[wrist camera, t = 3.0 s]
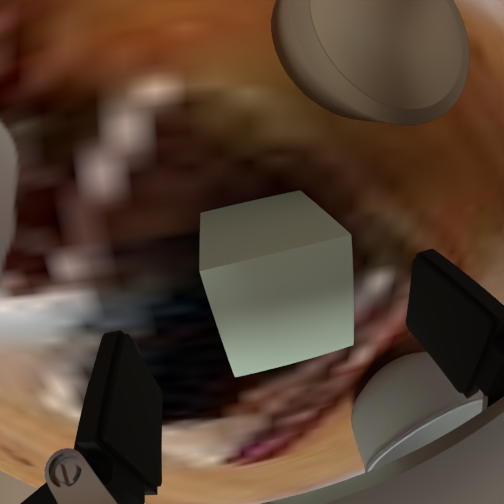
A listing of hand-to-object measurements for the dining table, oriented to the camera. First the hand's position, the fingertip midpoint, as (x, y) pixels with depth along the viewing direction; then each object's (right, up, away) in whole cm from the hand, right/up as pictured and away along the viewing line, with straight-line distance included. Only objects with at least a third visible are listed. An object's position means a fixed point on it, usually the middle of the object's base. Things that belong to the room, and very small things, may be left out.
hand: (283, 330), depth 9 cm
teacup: (+12, -7, +14) cm, 19 cm away
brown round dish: (+4, +13, +3) cm, 14 cm away
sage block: (-1, +3, +7) cm, 7 cm away
